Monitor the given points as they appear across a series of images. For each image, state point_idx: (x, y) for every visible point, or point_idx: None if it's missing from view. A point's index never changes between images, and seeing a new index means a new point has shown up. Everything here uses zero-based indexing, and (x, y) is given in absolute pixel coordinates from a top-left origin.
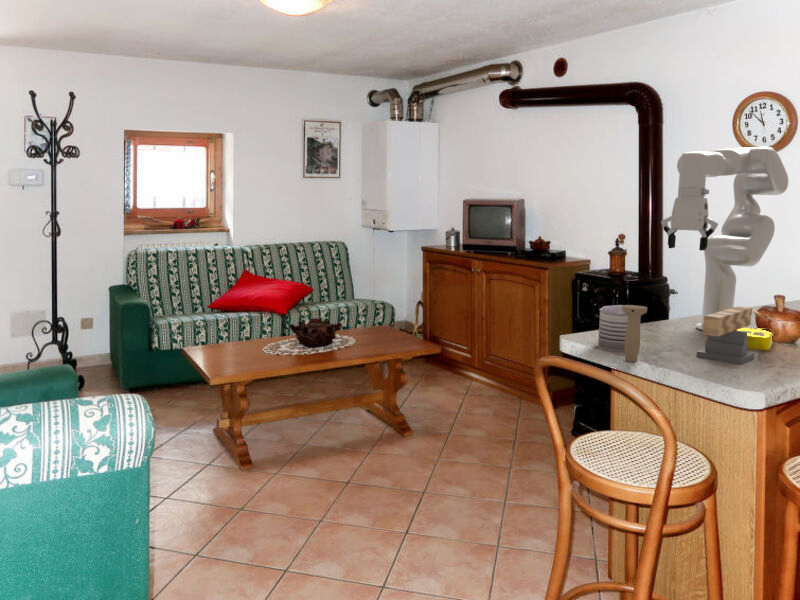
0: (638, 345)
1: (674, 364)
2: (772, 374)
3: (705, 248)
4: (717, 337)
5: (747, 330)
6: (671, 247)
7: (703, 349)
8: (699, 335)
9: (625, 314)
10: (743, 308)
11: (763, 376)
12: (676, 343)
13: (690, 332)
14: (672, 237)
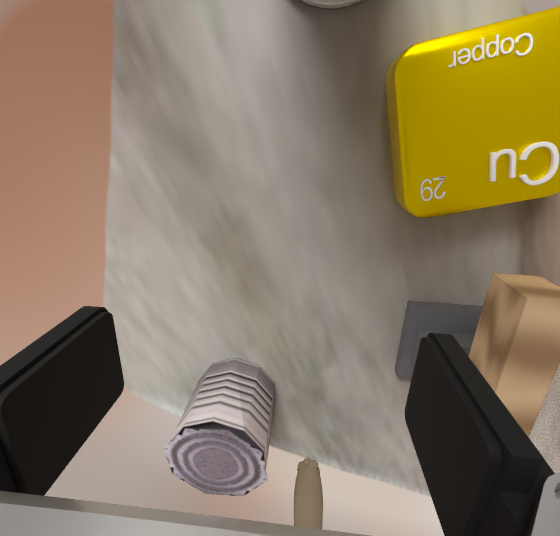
0: (322, 498)
1: (377, 445)
2: (554, 413)
3: (452, 344)
4: None
5: (496, 111)
6: (120, 380)
7: (405, 351)
8: (324, 107)
9: (250, 487)
10: (552, 332)
11: (538, 435)
12: (314, 271)
13: (285, 75)
14: (45, 467)
